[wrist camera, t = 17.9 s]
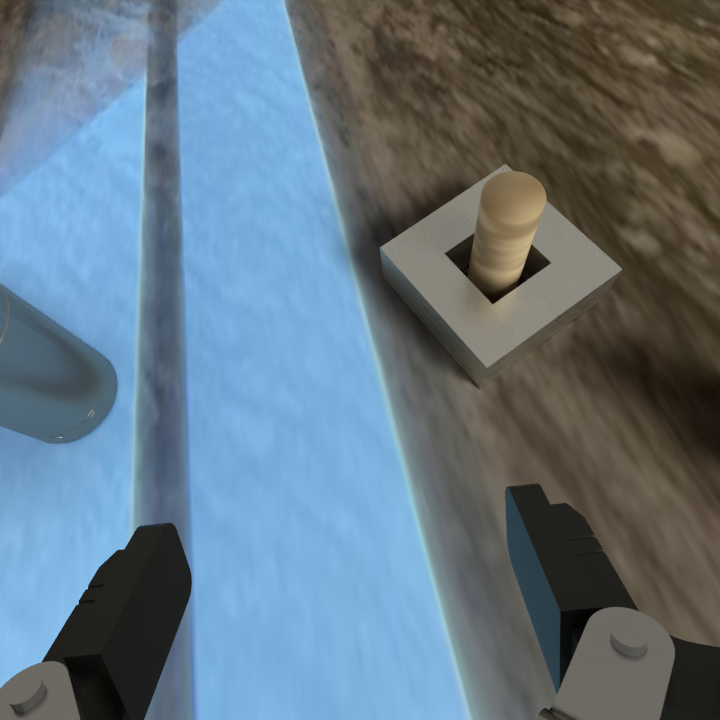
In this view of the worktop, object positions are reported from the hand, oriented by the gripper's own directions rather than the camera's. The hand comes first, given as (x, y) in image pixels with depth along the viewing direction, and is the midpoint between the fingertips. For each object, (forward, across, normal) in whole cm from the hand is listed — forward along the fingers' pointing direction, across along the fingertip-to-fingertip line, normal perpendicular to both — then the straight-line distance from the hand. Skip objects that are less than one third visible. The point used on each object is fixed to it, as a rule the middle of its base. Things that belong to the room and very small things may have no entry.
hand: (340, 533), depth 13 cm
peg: (+38, -12, +6) cm, 40 cm away
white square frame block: (+38, -12, +6) cm, 40 cm away
